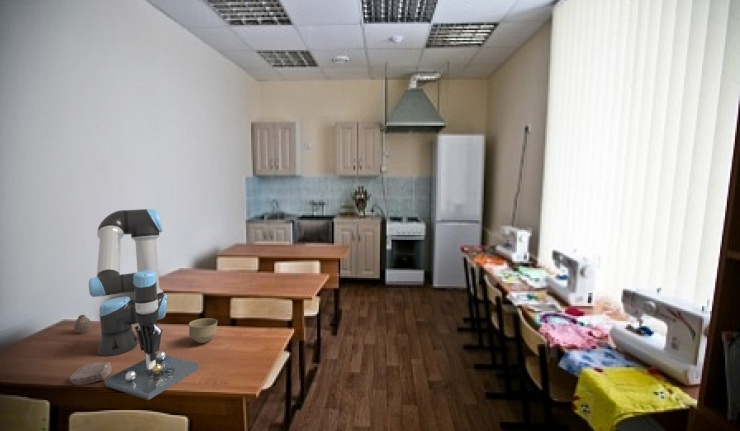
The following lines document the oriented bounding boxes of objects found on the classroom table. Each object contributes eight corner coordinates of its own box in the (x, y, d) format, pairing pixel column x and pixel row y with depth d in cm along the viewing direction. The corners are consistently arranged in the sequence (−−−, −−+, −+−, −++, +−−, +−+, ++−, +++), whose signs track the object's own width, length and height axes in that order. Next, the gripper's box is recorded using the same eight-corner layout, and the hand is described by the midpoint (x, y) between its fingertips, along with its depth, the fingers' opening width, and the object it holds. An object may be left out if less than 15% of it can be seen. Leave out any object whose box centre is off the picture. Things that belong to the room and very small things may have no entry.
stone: (80, 374, 143) (79, 363, 143) (113, 371, 146) (113, 360, 146) (67, 387, 135) (66, 376, 134) (102, 383, 137) (101, 372, 137)
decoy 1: (154, 361, 149) (154, 353, 148) (162, 357, 152) (161, 349, 152) (160, 362, 147) (160, 354, 147) (168, 358, 151) (167, 350, 150)
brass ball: (156, 374, 137) (151, 375, 139) (165, 370, 140) (159, 371, 142) (154, 366, 137) (149, 366, 139) (163, 362, 140) (157, 362, 142)
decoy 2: (123, 381, 134) (122, 373, 133) (132, 376, 137) (131, 368, 137) (129, 383, 133) (129, 374, 132) (138, 378, 136) (138, 370, 135)
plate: (104, 385, 135) (104, 379, 135) (157, 358, 156) (157, 353, 156) (148, 400, 127) (148, 393, 126) (198, 369, 147) (198, 363, 147)
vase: (71, 334, 180) (69, 317, 179) (83, 328, 187) (82, 312, 186) (82, 335, 179) (80, 318, 178) (95, 329, 185) (93, 313, 185)
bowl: (223, 339, 174) (222, 319, 173) (199, 350, 163) (198, 329, 162) (208, 333, 181) (207, 314, 180) (184, 343, 170) (183, 323, 169)
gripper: (126, 311, 137) (131, 369, 140) (149, 316, 132) (153, 376, 135) (145, 305, 144) (149, 360, 147) (167, 309, 139) (171, 366, 142)
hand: (151, 367), depth 141 cm, fingers closed
